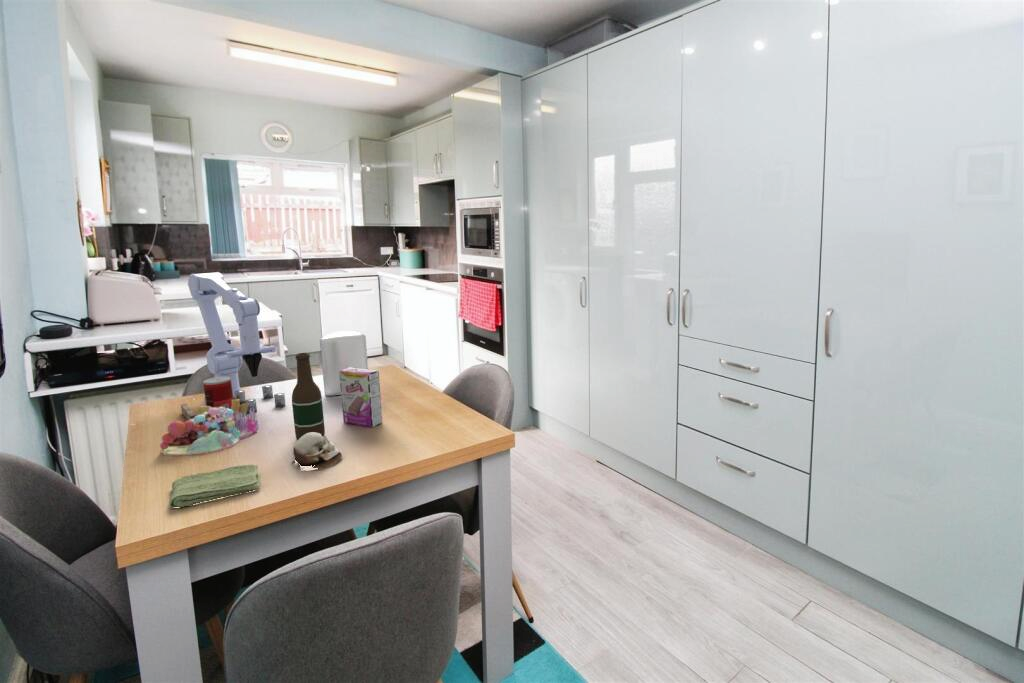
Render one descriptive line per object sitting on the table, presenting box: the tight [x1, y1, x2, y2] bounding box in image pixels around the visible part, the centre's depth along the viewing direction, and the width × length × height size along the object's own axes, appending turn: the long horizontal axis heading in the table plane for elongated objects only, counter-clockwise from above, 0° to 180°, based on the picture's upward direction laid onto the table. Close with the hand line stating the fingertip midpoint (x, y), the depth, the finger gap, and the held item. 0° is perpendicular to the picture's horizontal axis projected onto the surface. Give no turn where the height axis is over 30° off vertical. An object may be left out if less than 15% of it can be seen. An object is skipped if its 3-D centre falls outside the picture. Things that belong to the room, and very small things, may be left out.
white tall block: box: [319, 330, 369, 397], centre depth 196 cm, size 15×14×22 cm
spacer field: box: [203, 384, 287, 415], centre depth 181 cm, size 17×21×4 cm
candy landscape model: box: [159, 398, 259, 457], centre depth 153 cm, size 25×24×9 cm
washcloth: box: [168, 464, 261, 509], centre depth 122 cm, size 13×18×3 cm
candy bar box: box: [339, 367, 383, 428], centre depth 161 cm, size 11×5×16 cm, turn 65°
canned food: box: [202, 376, 234, 409], centre depth 175 cm, size 8×8×11 cm
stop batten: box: [180, 403, 197, 421], centre depth 170 cm, size 16×2×3 cm, turn 40°
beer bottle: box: [291, 352, 326, 441], centre depth 150 cm, size 8×8×24 cm
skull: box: [292, 432, 343, 470], centre depth 136 cm, size 12×10×10 cm
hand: (254, 376), depth 182 cm, fingers closed
